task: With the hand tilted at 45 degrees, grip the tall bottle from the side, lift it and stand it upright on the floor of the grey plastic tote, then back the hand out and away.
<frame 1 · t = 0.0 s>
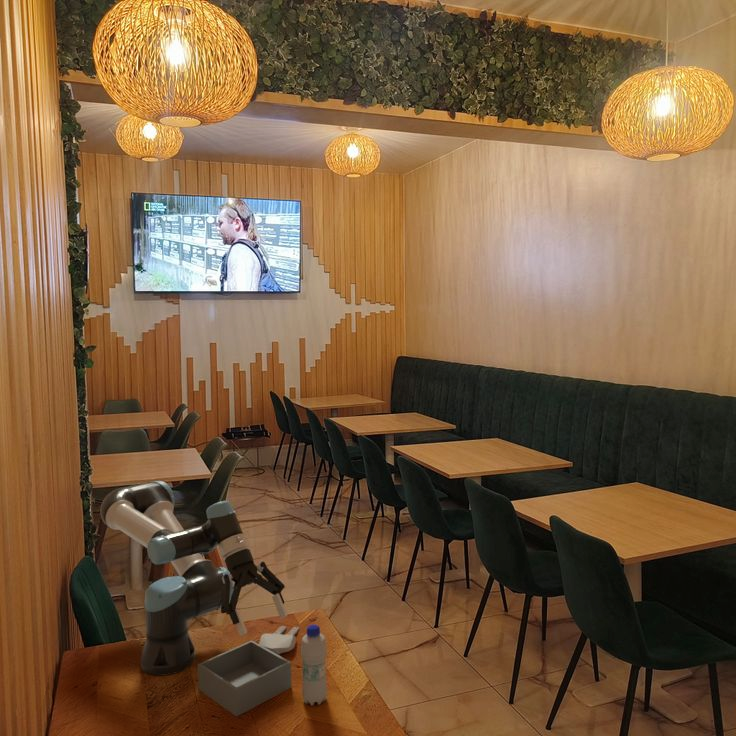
hand: (264, 625, 174), 15 cm above the table, tool tilted 35°, fingers open, 13 cm apart
turret: (281, 645, 195), on the table
tote: (245, 688, 171), on the table
bottle: (314, 701, 165), on the table
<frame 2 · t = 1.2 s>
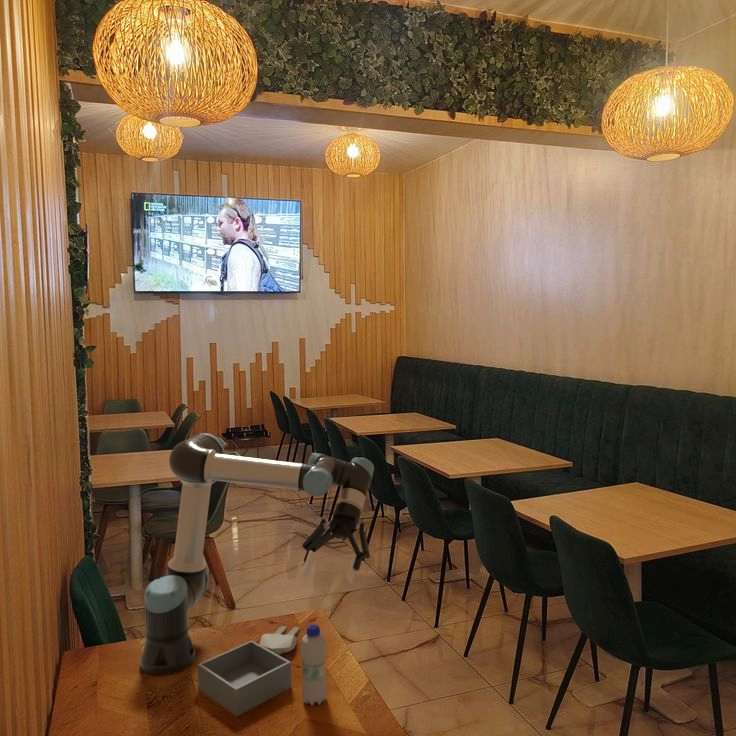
hand: (326, 577, 172), 29 cm above the table, tool tilted 45°, fingers open, 13 cm apart
nothing on the table moved.
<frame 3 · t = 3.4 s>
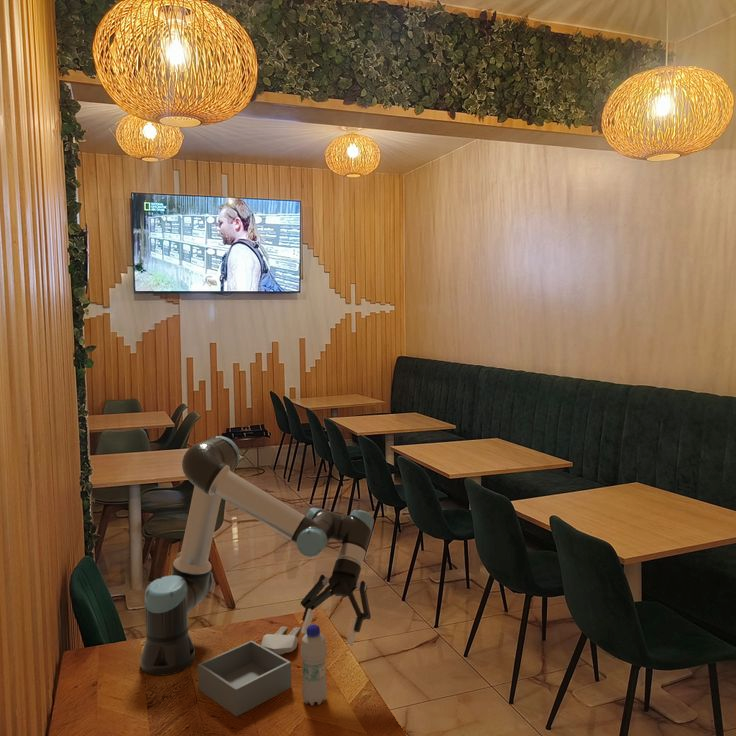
hand: (326, 639, 168), 14 cm above the table, tool tilted 45°, fingers open, 13 cm apart
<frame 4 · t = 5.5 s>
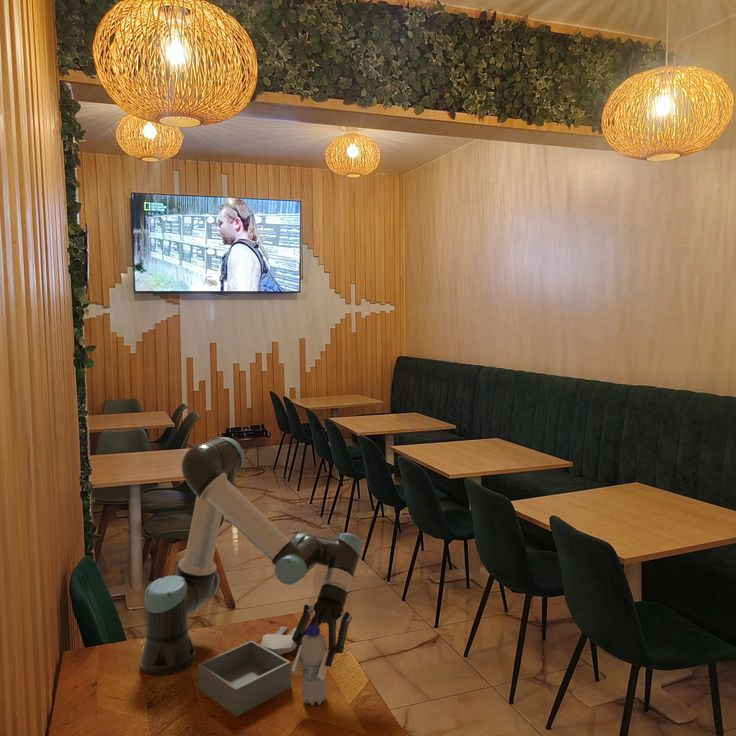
hand: (307, 675, 161), 8 cm above the table, tool tilted 45°, fingers closed on bottle, 7 cm apart
bottle: (314, 701, 165), on the table, touching gripper
everything else where it was.
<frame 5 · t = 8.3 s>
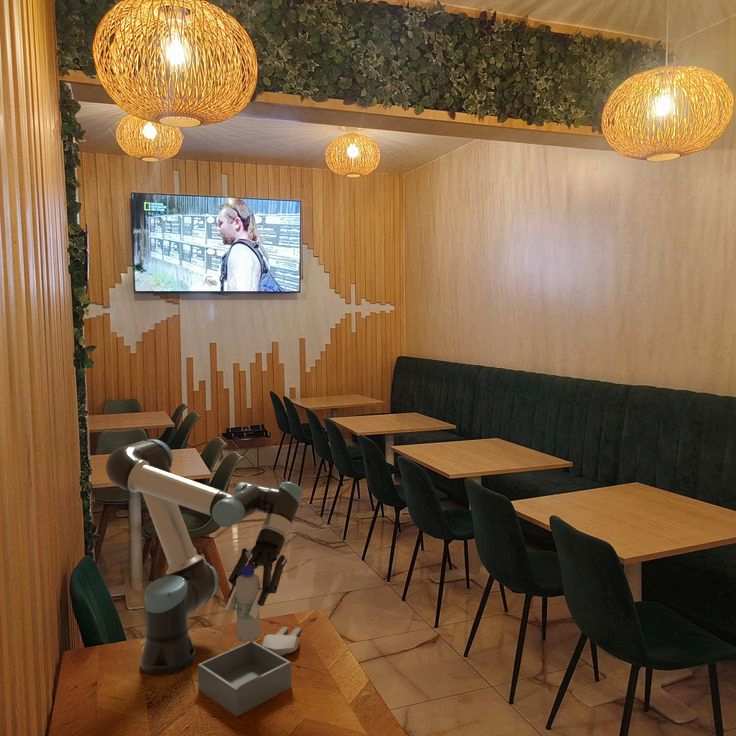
hand: (240, 613, 166), 22 cm above the table, tool tilted 45°, fingers closed on bottle, 7 cm apart
bottle: (248, 639, 170), point 14 cm above the table, touching gripper
when the fingers open (11 cm above the table, at t = 11.1 s): bottle drops 1 cm, resting on tote.
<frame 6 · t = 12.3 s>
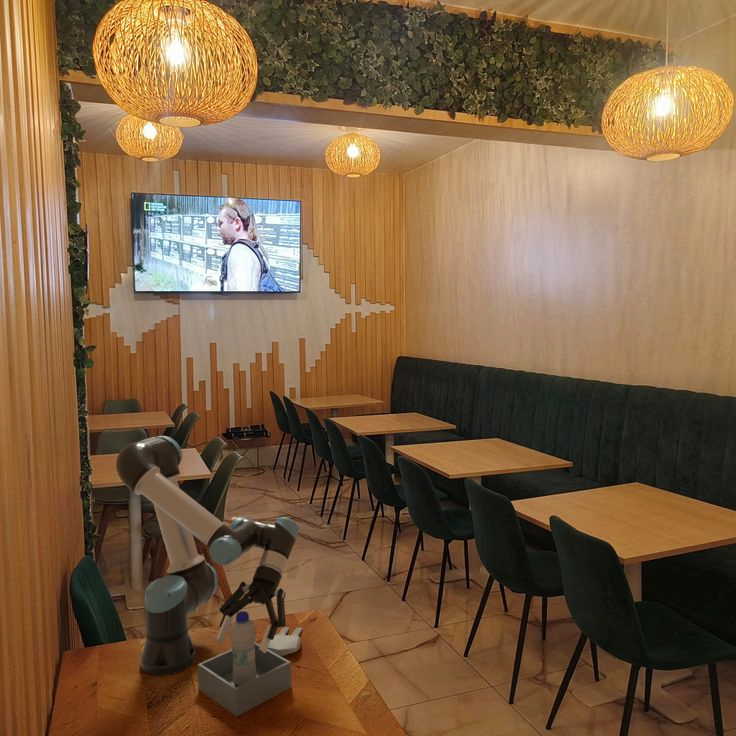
hand: (240, 646, 168), 13 cm above the table, tool tilted 45°, fingers open, 13 cm apart
bottle: (244, 685, 171), point 1 cm above the table, touching tote
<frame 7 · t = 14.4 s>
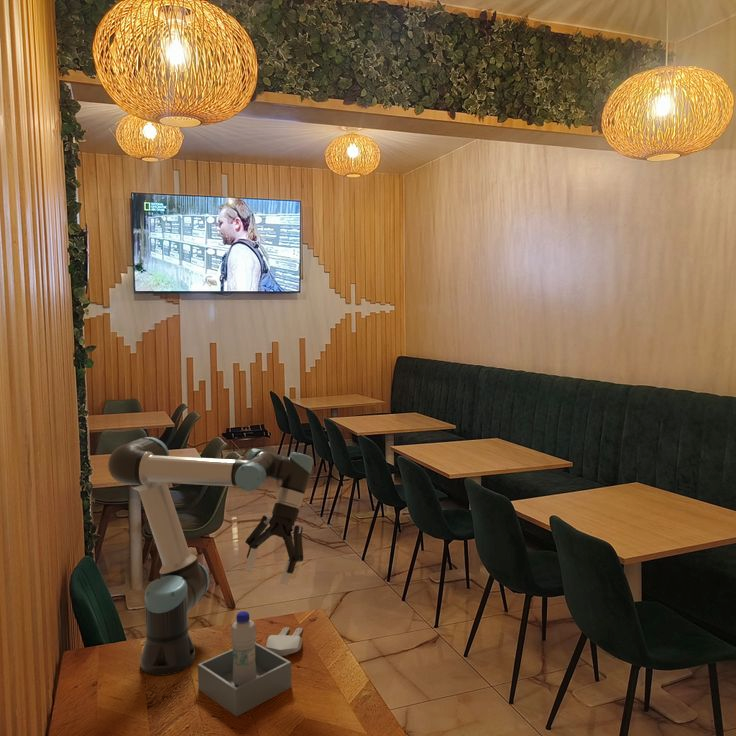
hand: (265, 577, 183), 25 cm above the table, tool tilted 25°, fingers open, 13 cm apart
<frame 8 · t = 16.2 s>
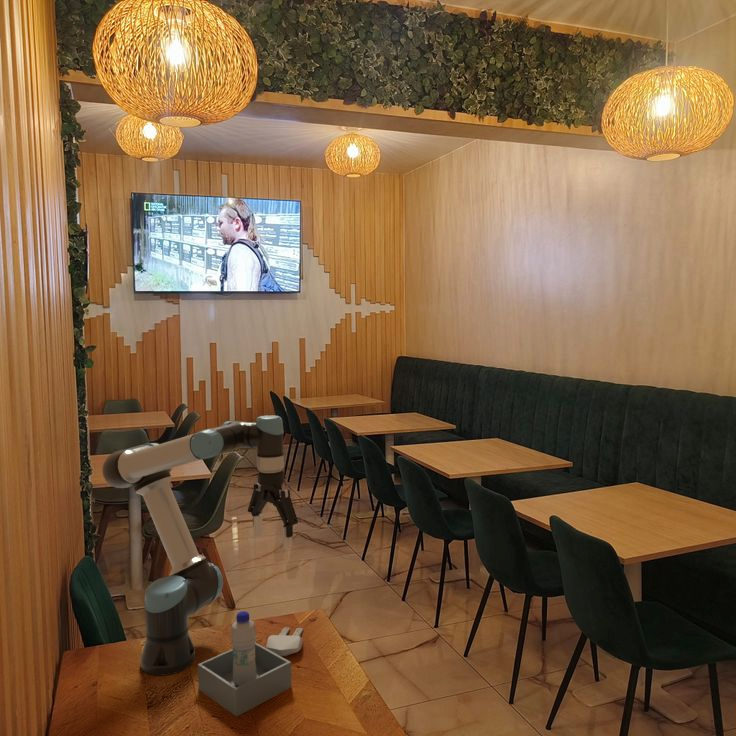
hand: (272, 542, 184), 35 cm above the table, tool pointing down, fingers open, 13 cm apart
at the end: bottle inside the target area on the tote (0.1 cm from its centre), point 0.8 cm above the tote's base; bottle tilted 0°; the gripper is holding nothing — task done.
